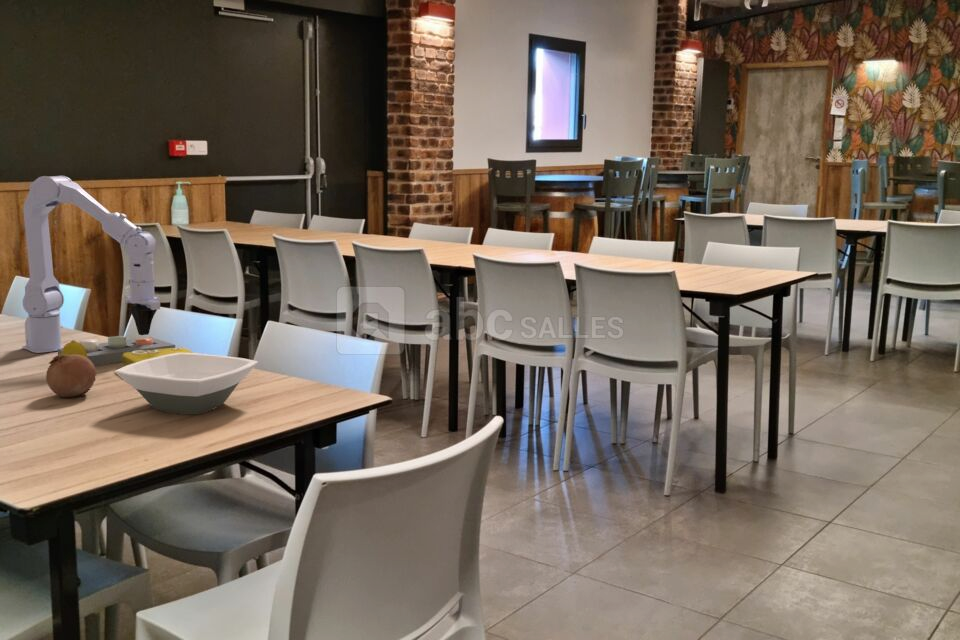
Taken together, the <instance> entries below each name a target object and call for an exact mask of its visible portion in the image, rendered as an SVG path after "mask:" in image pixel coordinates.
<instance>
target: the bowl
mask: <svg viewBox="0 0 960 640" xmlns="http://www.w3.org/2000/svg"><path fill="white" fill-rule="evenodd" d="M258 364H259V361H258V360H254V359H249V358H243V357H235V356H227V355H218V354H217V355H216V354H208V353H199V352H198V353H197V352H194V353H174V354H168V355H163V356H159V357H154V358H150V359H146V360H142V361H139V362H136V363H133V364H130V365H127V366H125V367H123V366H122V367H121V368H118V369H116V370H114V373H115V374H116V375H117V376H118V377H120V378H121V379H122V380H123V381H125V383H127V384H128V385H130V387H132V388H133V389H134V390H136V391H137V392H138V393H139V394H140V395H141V396H142V397H143V398H144V400H145V401H147V403H148V404H149V405H150V406H151V408H153V409H154V410H156V411H157V410H158V411H160V412H166V413H167V412H168V413H173V414H180V415H193V414H195V415H198V413H199V414H202V412H203V413H206V412H209V411H212V410H214V409H213V408H215V407H217V408H219V407H221V406H222V405H224V404H225V403H224V402H226V401H227V400H228V399H229V397H230V396H231V394H232V393H233V392H234V390H235V389H236V388H237V387H238V385H239V384H240V382H242V381H243V379H245V377H246V376H248V374H249V373H250V372H251V371H252V370H253V369H254V368H255V367H256V366H257V365H258ZM223 403H224V404H223ZM221 404H222V405H221ZM220 405H221V406H220ZM218 406H219V407H218ZM211 409H212V410H211ZM215 409H216V408H215ZM208 410H209V411H208ZM205 411H206V412H205Z"/></svg>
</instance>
